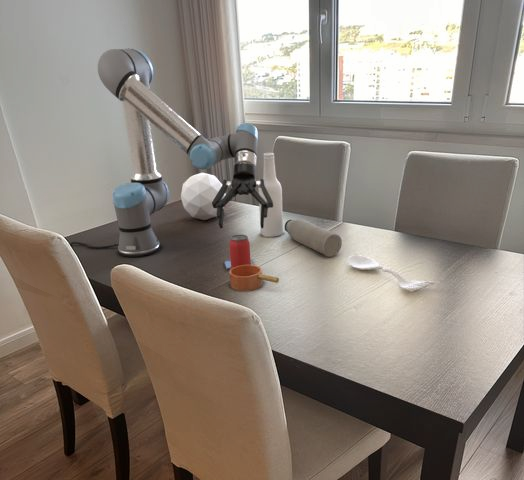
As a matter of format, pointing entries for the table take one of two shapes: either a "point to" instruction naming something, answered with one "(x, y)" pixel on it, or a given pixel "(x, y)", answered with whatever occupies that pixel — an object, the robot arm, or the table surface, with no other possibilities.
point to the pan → (245, 277)
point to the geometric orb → (200, 195)
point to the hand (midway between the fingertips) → (241, 226)
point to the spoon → (370, 264)
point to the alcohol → (274, 214)
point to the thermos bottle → (314, 237)
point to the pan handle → (268, 278)
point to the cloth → (229, 265)
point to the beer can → (239, 250)
